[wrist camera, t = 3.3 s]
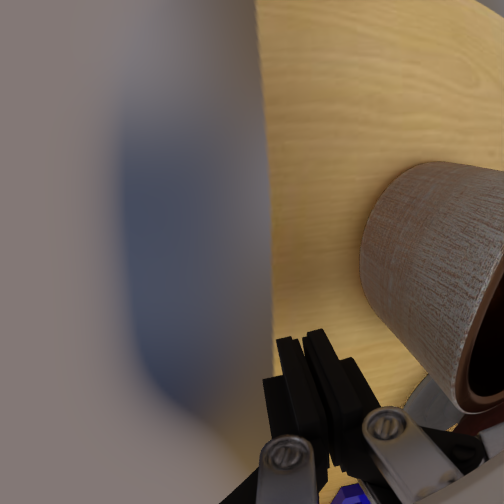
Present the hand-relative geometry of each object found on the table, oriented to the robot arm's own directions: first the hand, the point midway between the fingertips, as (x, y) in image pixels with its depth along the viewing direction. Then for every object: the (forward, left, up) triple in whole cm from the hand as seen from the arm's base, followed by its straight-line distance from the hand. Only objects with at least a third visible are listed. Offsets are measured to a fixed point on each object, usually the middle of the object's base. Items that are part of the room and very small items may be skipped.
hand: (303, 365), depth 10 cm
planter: (0, +10, -7) cm, 12 cm away
